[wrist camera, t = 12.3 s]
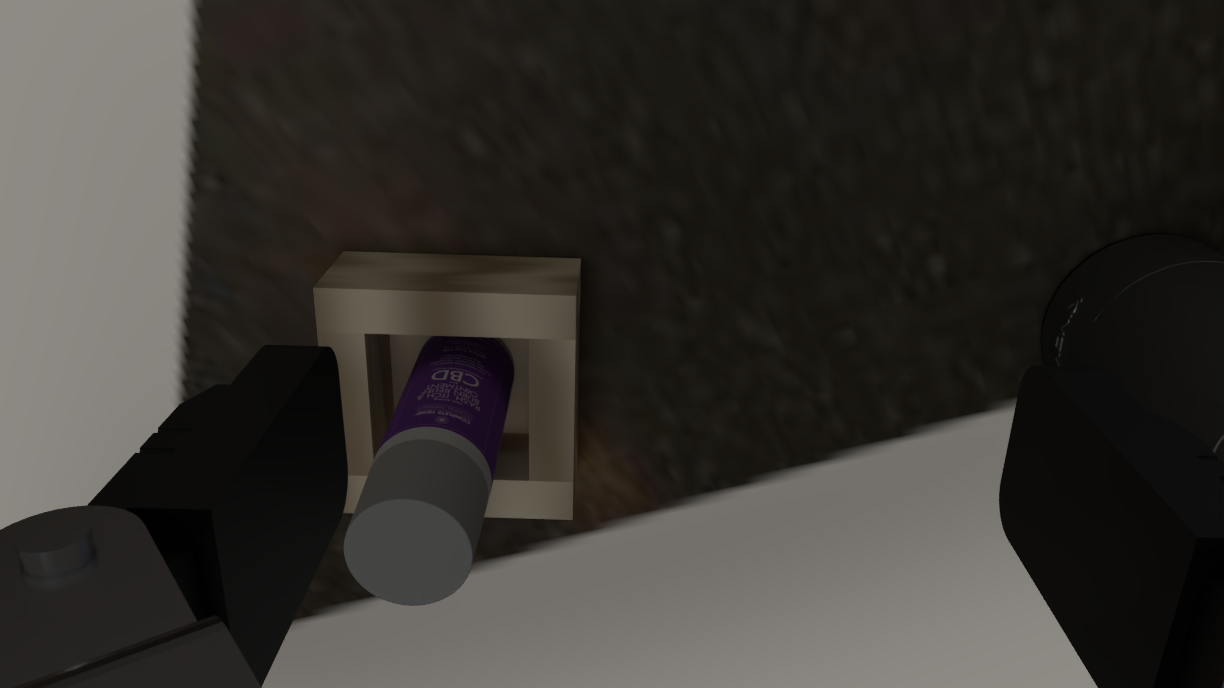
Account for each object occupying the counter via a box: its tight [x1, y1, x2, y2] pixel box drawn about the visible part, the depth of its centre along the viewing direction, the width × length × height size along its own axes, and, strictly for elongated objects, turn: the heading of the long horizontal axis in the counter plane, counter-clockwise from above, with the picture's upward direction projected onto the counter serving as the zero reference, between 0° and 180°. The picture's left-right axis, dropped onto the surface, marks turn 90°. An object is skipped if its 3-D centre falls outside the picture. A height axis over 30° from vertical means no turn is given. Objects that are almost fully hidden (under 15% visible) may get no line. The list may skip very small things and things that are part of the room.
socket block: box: [313, 251, 581, 520], centre depth 46 cm, size 11×11×5 cm
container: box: [344, 336, 515, 606], centre depth 41 cm, size 5×5×15 cm
